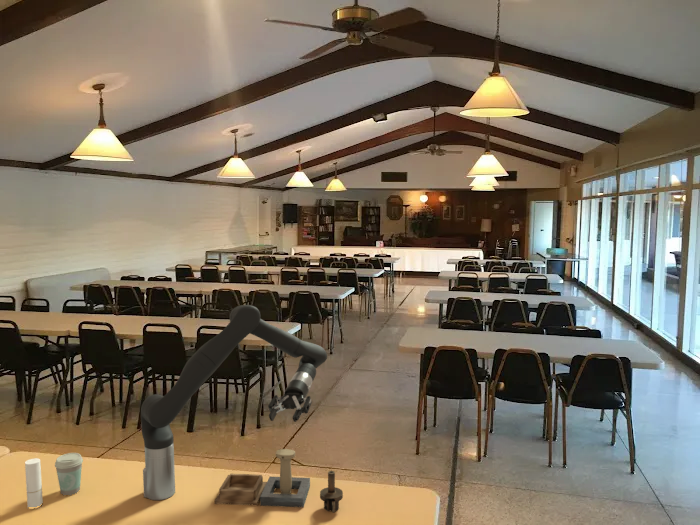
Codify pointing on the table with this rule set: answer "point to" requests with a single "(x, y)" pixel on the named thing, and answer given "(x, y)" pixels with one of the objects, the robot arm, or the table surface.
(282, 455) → the handle
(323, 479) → the table surface
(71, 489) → the coffee cup
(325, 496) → the industrial component
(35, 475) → the tube
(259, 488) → the tray
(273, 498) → the socket block
